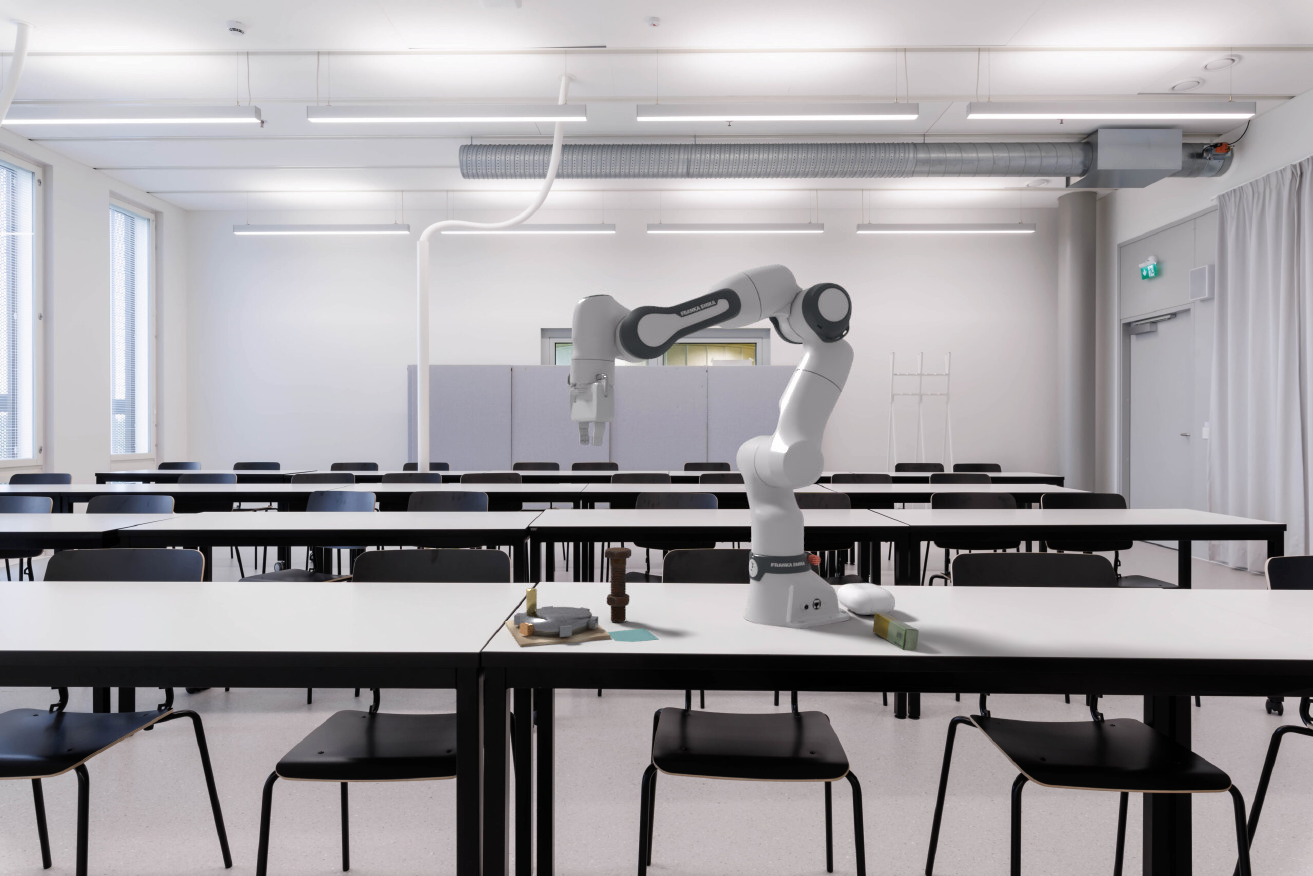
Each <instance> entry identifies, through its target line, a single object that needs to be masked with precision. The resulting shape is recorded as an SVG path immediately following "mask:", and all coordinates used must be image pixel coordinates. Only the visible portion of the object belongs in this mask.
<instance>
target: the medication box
mask: <svg viewBox="0 0 1313 876" xmlns="http://www.w3.org/2000/svg"><path fill="white" fill-rule="evenodd" d="M873 618H874V619H873V626H872V633H874V634H876V635H878V636H879V637H881V638H882V639H884V640H886V641H887V642H889V643H890V644H892V645H894V646H896V648H897V647H898V649H900V650H903V651H914V650H917V647H918V640H919V632H920V631H919V629H917V628H915V627H913V626H912V625H909V624H908V623H906V622H904V621H902V620H900V619H898V618H897V617H894V616H892V615H891V614H889V613H875V614H874V617H873Z"/></svg>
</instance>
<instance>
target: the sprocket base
mask: <svg viewBox="0 0 1313 876" xmlns="http://www.w3.org/2000/svg"><path fill="white" fill-rule="evenodd" d="M504 624H505V627H506V628H507V630H508V631H509V633H510V634H511V636H512V637H513V639H514V640H515V642H516V643H517V645H518V646H519V648H524V646H526V647H535V645H537V646H546V645H545V644H548V645H558V644H571V643H579V642H589V641H600V640H611V637H610V634H609V633H608V632H609V631H607V630H605V628H603V626H601V625H600V624H599V623H598V626H597V627H596V629H592V628H589V629H588V630H586V631H583V632H580V633H576V634H572V636H565V637H560V636H541V635H533V634H531V635H524V634H520V625H514V619H513V620H505V623H504Z"/></svg>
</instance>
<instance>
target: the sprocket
mask: <svg viewBox="0 0 1313 876" xmlns="http://www.w3.org/2000/svg"><path fill="white" fill-rule="evenodd" d="M537 592H538V588H534V587H530V588H526V595H525V596H526V597H525V599H526V602H525V603H526V606H525V607H526V608H525V609H526V611H524V612H517V613H516V614H514V615H513V620H514V625H520V634H524V635H531V634H533V635H541V636H560V637H565V636H572V634H576V633H580V632H583V631H586V630H588V629H589V628H592V629H596V627H597V626H598V624H599V616H594V615H593V613H592V612H591V611H590V608H588V607H572V606H571V607H570V606H553V605H550V606H542V607H540V608H537V606H538V605H537V603H538V601H537V598H538V597H537V595H538V594H537Z"/></svg>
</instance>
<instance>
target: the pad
mask: <svg viewBox="0 0 1313 876" xmlns="http://www.w3.org/2000/svg"><path fill="white" fill-rule="evenodd" d="M607 632H608V633H609V634H610V638H611V639H612V640H614V641H616V642H625V643H627V642H628V643H635V642H649V641H655V640H656V641H657V640H659V637H657V636H655V635H654V634H653V633H652V632H651V631H649V630H648V629H647V628H645V627H644V628H643V627H642V628H636V629H635V628H633V629H625V630H615V631H607Z"/></svg>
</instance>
